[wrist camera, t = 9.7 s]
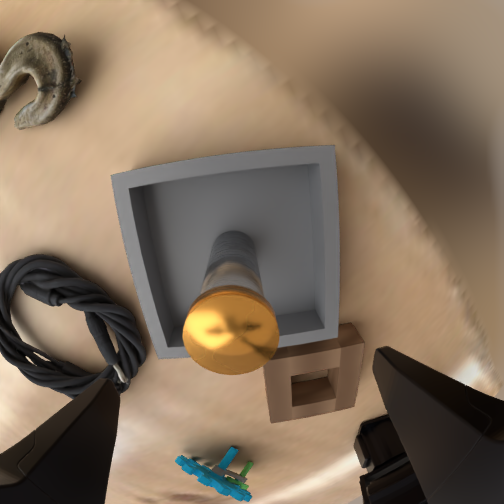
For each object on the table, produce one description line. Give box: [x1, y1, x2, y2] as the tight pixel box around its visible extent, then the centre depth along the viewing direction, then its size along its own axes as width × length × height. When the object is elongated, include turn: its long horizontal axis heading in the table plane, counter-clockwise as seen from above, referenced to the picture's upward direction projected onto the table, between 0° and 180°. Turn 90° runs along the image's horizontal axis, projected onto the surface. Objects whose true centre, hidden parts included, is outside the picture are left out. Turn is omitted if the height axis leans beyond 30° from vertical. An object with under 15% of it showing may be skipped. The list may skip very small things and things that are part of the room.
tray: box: [111, 145, 340, 359], centre depth 19 cm, size 13×13×4 cm
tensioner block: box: [263, 323, 365, 423], centre depth 23 cm, size 8×8×3 cm
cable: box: [0, 254, 146, 399], centre depth 20 cm, size 17×14×4 cm
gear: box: [175, 447, 253, 502], centre depth 27 cm, size 11×6×10 cm
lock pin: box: [183, 231, 280, 375], centre depth 15 cm, size 4×4×10 cm
